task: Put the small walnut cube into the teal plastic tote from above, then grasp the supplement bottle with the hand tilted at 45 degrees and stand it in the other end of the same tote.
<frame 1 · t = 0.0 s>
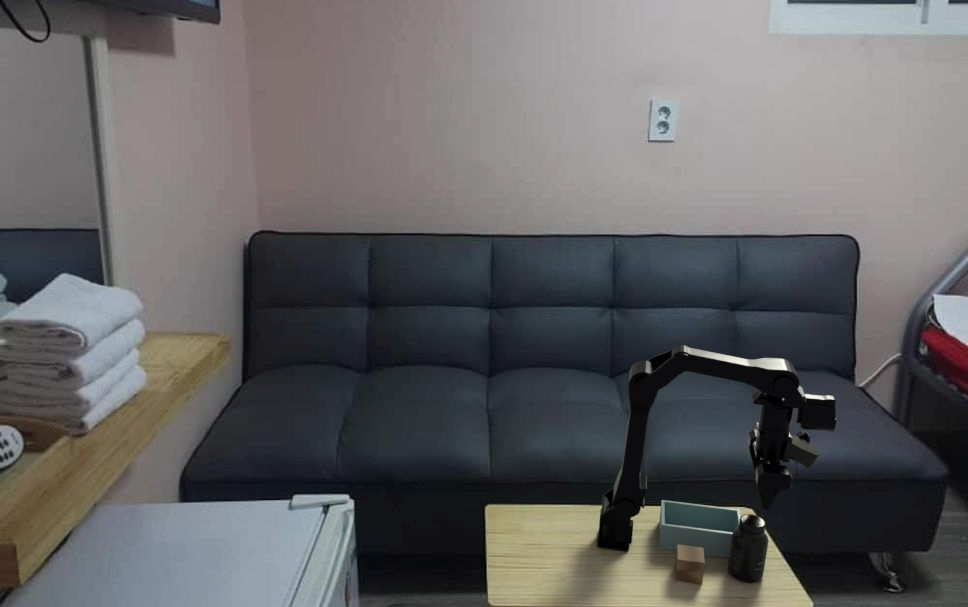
hand: (763, 496, 161), 15 cm above the table, tool pointing down, fingers open, 9 cm apart
walnut cube: (688, 575, 160), on the table
tote: (698, 540, 171), on the table
supplement bottle: (744, 574, 161), on the table
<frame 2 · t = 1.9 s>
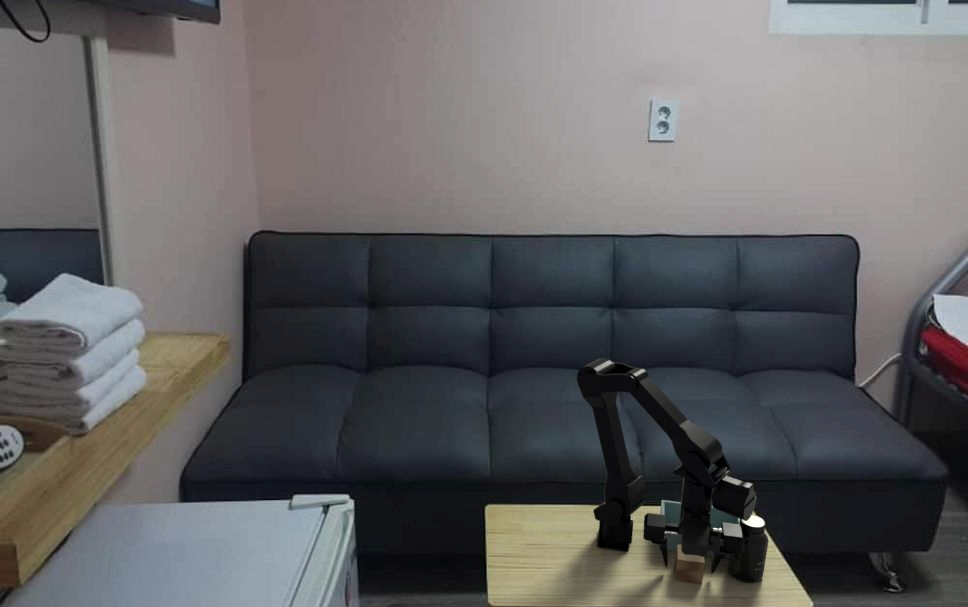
hand: (688, 569, 160), 1 cm above the table, tool pointing down, fingers open, 8 cm apart
supplement bottle: (744, 574, 161), on the table, touching gripper
everything else where it was.
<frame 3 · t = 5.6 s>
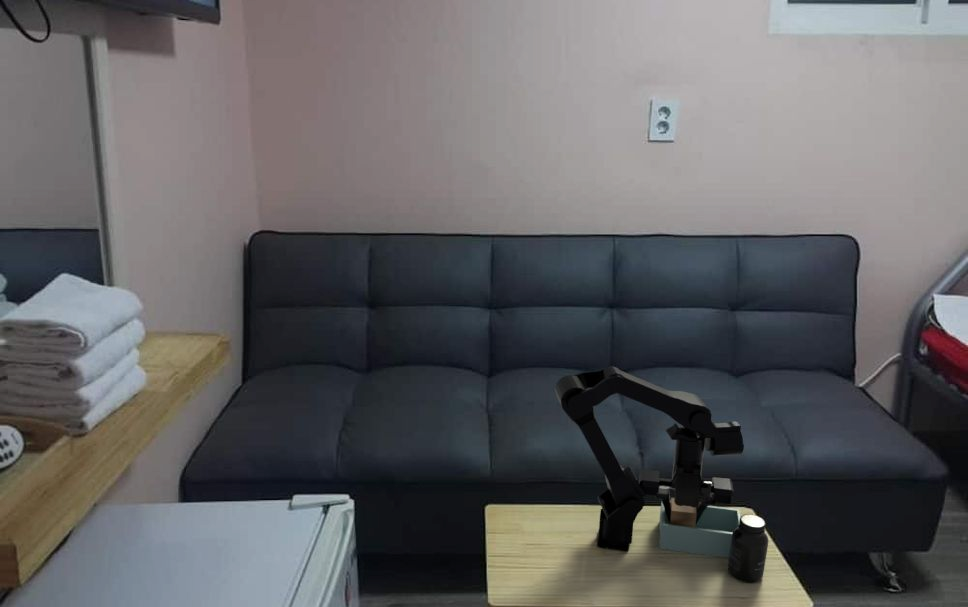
hand: (682, 521, 171), 4 cm above the table, tool pointing down, fingers closed on walnut cube, 5 cm apart
walnut cube: (681, 526, 171), point 3 cm above the table, touching gripper
supplement bottle: (744, 574, 161), on the table
when the fingers open (4 cm above the table, at t = 6.0 s): walnut cube drops 2 cm, resting on tote.
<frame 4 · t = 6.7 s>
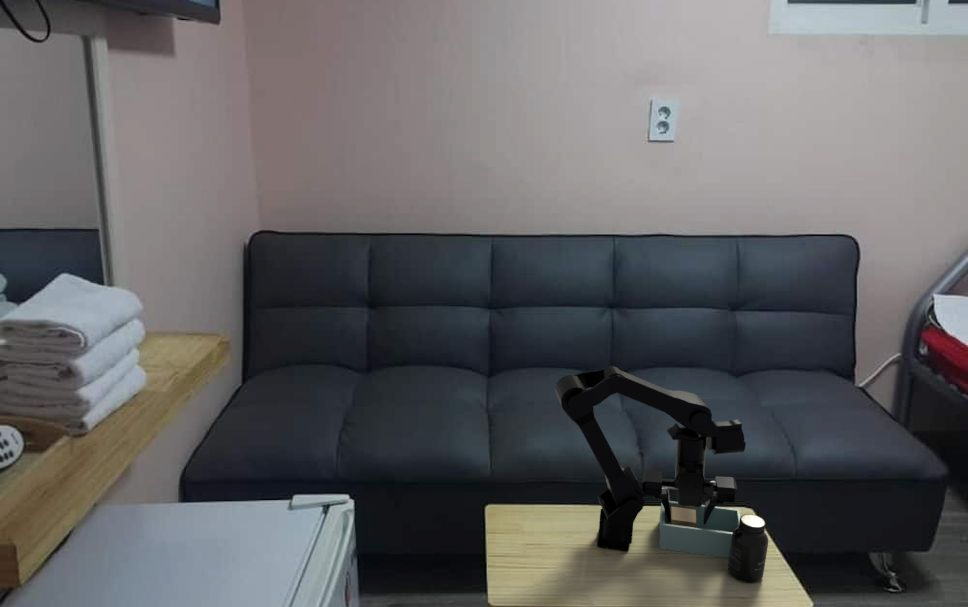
hand: (686, 522, 171), 4 cm above the table, tool pointing down, fingers open, 7 cm apart
walnut cube: (681, 535, 172), point 1 cm above the table, touching gripper, tote
everything else where it was.
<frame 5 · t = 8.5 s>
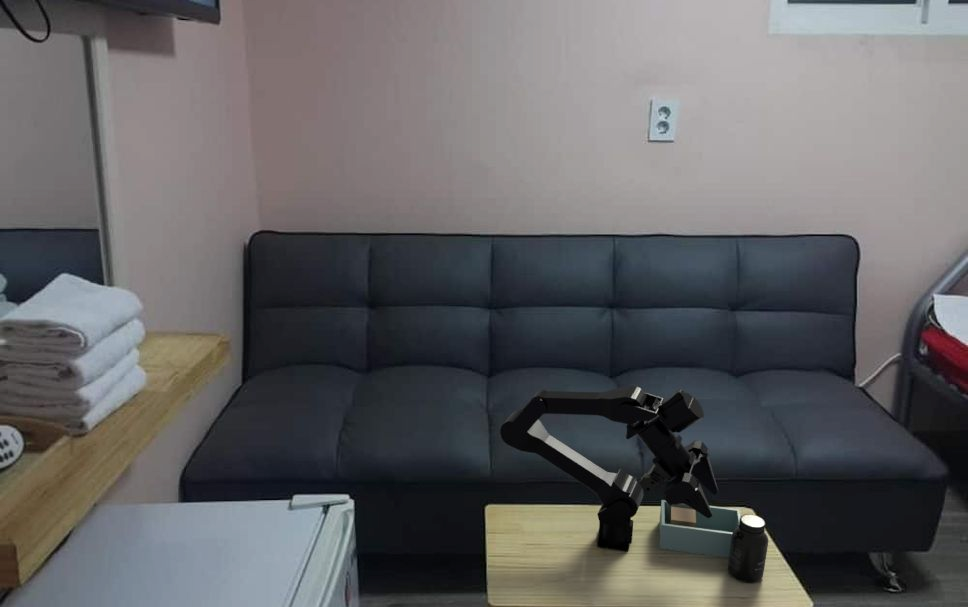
hand: (713, 504, 160), 13 cm above the table, tool tilted 45°, fingers open, 9 cm apart
walnut cube: (681, 535, 172), point 1 cm above the table, touching tote
everything else where it was.
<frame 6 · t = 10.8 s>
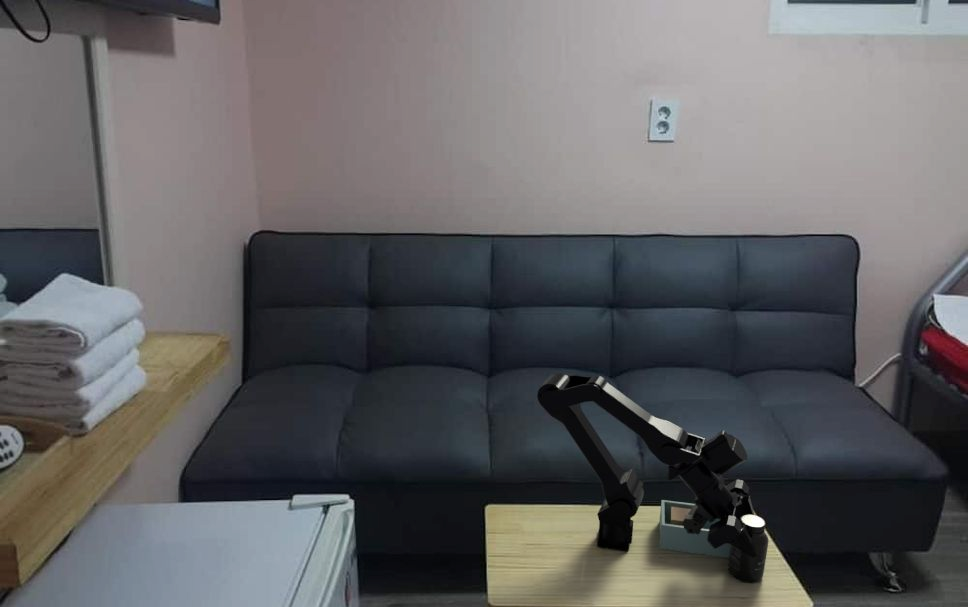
hand: (756, 546, 158), 7 cm above the table, tool tilted 45°, fingers closed on supplement bottle, 7 cm apart
supplement bottle: (744, 574, 161), on the table, touching gripper
everything else where it was.
when the fingers open (9 cm above the table, at t = 14.3 s): supplement bottle drops 1 cm, resting on tote.
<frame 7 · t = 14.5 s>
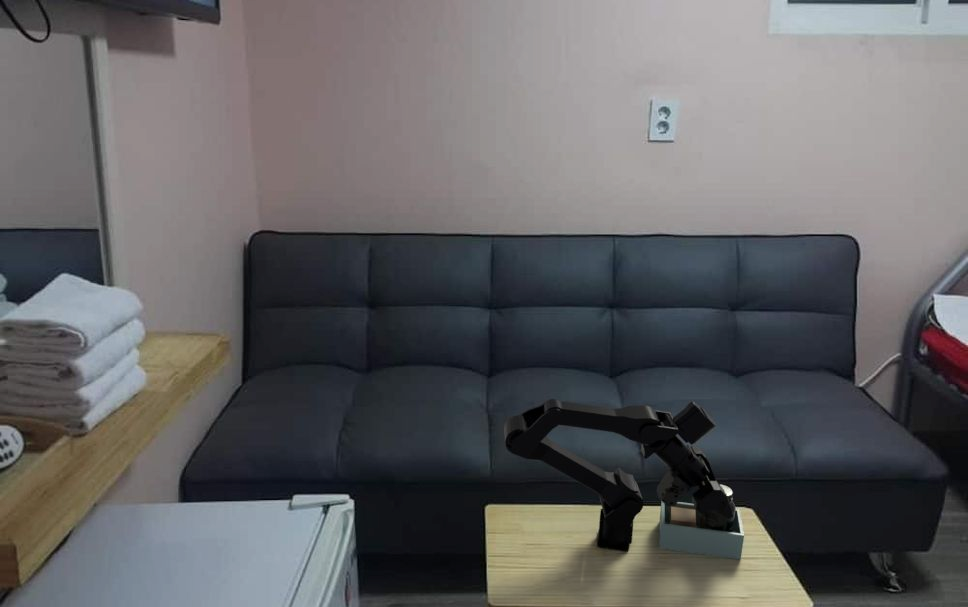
hand: (724, 504, 168), 9 cm above the table, tool tilted 45°, fingers open, 9 cm apart
supplement bottle: (713, 540, 171), point 1 cm above the table, touching tote
everything else where it was.
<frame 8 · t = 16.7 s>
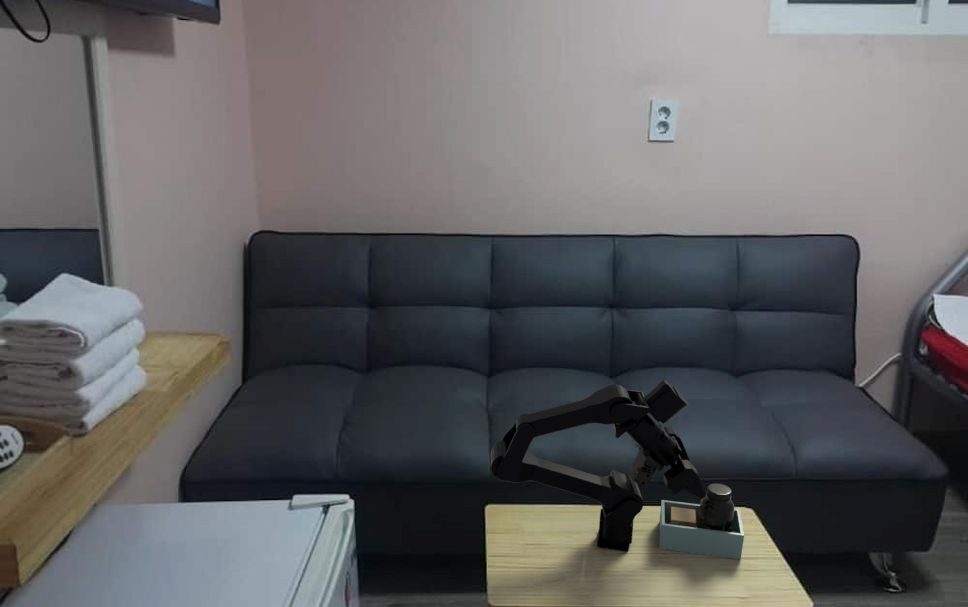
hand: (698, 484, 166), 14 cm above the table, tool tilted 45°, fingers open, 9 cm apart
nothing on the table moved.
at the end: supplement bottle inside the target area on the tote (2.9 cm from its centre), point 0.4 cm above the tote's base; supplement bottle tilted 0°; walnut cube inside the target area on the tote (3.6 cm from its centre), point 0.6 cm above the tote's base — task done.
